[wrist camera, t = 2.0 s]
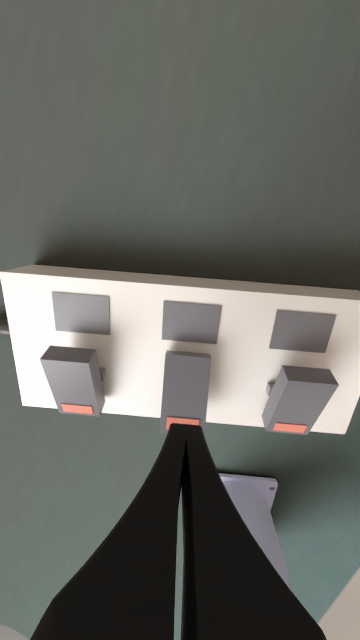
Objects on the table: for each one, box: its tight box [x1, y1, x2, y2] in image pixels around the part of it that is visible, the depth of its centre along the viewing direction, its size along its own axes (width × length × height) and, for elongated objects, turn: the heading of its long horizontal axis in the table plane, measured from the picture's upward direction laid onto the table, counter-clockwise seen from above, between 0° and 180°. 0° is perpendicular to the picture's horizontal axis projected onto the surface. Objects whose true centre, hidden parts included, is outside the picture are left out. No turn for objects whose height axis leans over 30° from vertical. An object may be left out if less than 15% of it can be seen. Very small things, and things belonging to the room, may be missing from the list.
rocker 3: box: [262, 365, 339, 435], centre depth 16 cm, size 5×3×1 cm, turn 176°
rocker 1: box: [40, 345, 105, 416], centre depth 16 cm, size 5×3×1 cm, turn 176°
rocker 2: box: [159, 350, 212, 434], centre depth 16 cm, size 5×3×1 cm, turn 176°
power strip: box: [0, 265, 360, 434], centre depth 18 cm, size 10×28×4 cm, turn 86°
